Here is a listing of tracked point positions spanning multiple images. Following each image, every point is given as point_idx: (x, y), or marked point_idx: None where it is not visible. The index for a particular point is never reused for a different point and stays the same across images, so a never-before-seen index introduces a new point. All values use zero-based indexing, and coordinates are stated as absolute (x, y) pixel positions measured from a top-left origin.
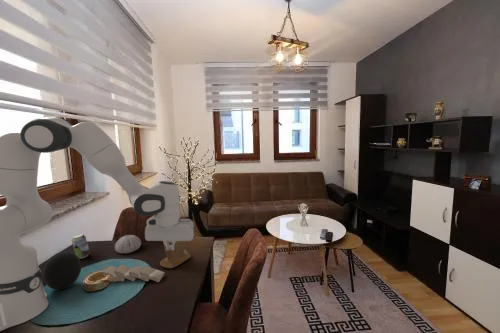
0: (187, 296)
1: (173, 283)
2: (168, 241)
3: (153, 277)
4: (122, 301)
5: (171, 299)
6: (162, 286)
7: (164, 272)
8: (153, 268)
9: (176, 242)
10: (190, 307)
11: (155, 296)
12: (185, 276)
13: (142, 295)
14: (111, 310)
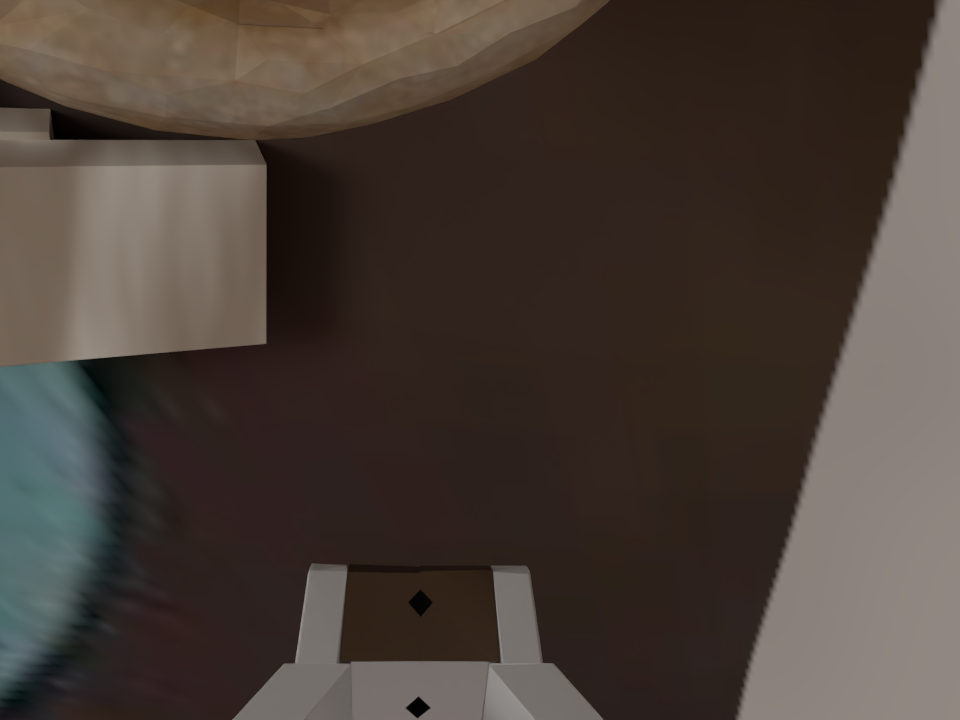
0: (709, 559)
1: (492, 348)
2: (38, 71)
3: (157, 344)
4: (29, 609)
5: (546, 592)
6: (359, 402)
7: (261, 166)
8: (7, 168)
9: (475, 86)
10: (746, 671)
11: (353, 554)
12: (643, 182)
13: (191, 539)
14: (22, 695)
